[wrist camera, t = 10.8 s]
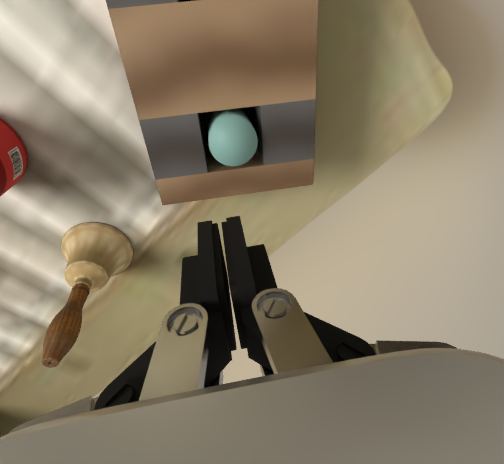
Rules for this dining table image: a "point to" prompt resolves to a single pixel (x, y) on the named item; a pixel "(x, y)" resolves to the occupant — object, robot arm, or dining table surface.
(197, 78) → the socket block
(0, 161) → the canned food
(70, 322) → the hand bell
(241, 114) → the teal peg
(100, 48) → the dining table surface
